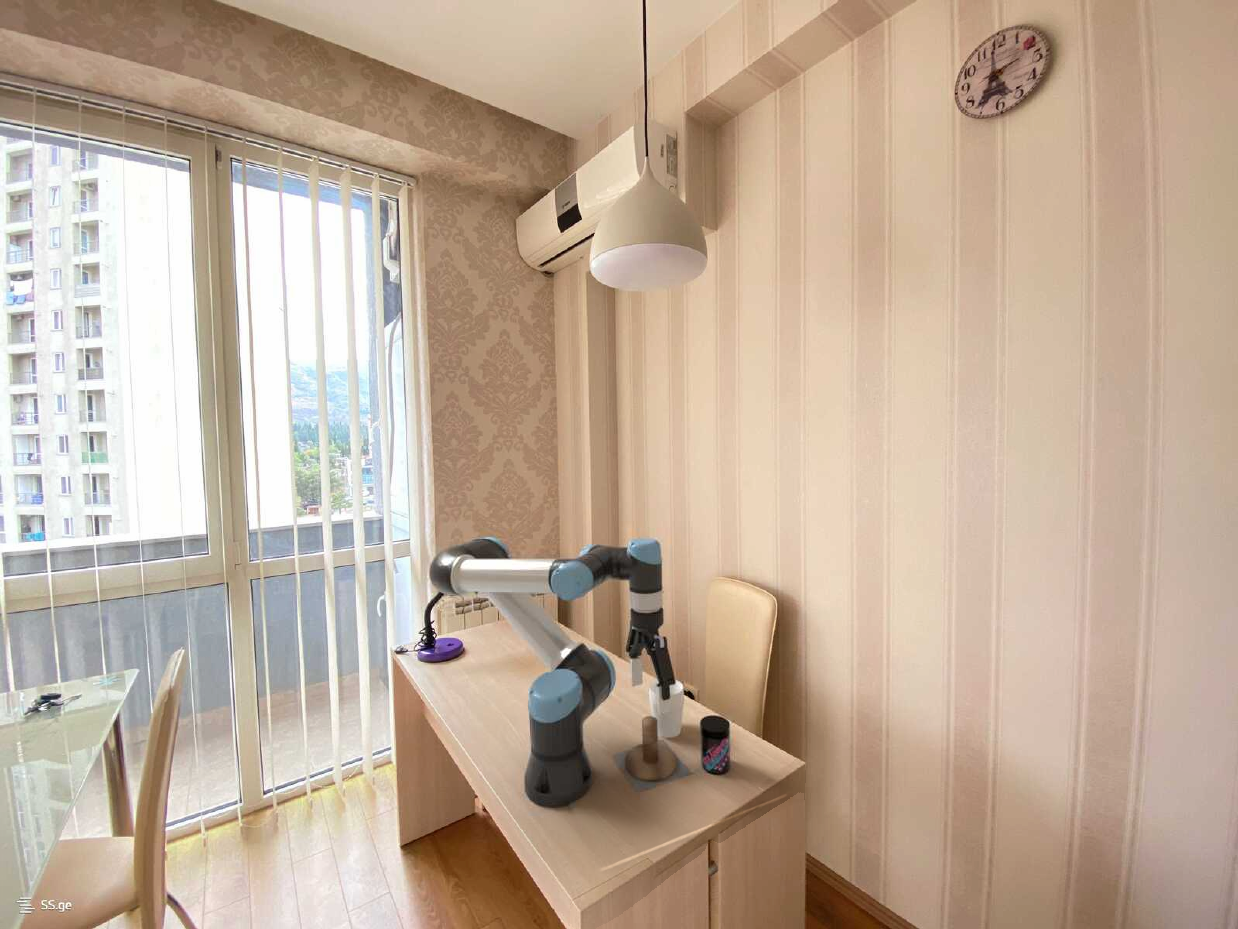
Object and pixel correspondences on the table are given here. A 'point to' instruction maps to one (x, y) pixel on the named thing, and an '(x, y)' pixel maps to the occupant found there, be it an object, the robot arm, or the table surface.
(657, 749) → the lid
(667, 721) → the cup
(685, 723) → the table surface
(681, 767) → the mat
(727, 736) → the supplement container
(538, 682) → the robot arm
